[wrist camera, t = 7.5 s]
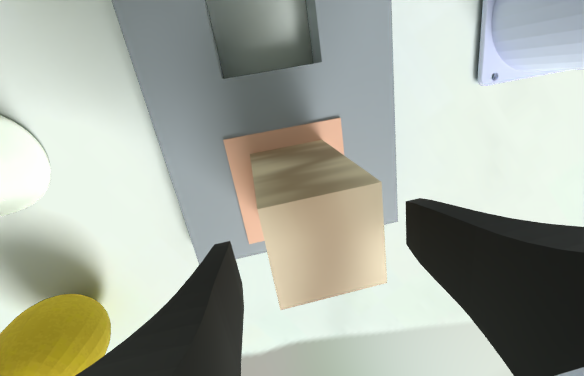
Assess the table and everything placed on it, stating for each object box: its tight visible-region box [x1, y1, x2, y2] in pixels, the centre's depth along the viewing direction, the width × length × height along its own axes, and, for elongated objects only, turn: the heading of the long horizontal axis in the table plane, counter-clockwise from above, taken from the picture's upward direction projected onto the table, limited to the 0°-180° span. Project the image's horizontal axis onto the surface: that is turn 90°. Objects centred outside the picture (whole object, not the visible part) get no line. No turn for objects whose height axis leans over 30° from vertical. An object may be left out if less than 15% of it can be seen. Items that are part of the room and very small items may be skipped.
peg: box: [250, 140, 387, 310], centre depth 14 cm, size 4×4×8 cm
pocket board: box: [112, 0, 398, 265], centre depth 18 cm, size 14×18×2 cm
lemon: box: [0, 294, 111, 376], centre depth 17 cm, size 6×6×8 cm
